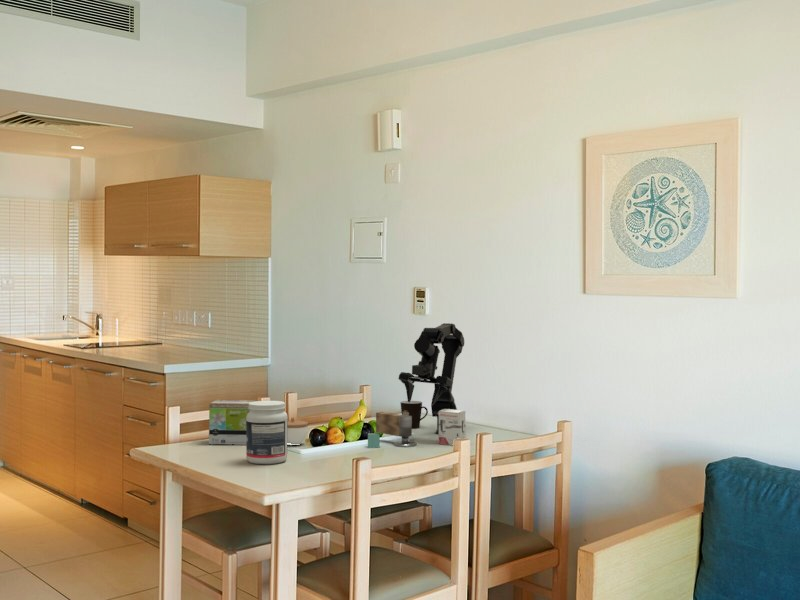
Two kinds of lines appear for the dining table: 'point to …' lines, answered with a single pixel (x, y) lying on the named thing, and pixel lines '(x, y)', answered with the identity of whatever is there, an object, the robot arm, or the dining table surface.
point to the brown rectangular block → (394, 424)
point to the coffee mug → (413, 411)
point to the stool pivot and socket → (375, 443)
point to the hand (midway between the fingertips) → (420, 403)
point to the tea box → (228, 421)
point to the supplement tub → (266, 432)
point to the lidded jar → (296, 431)
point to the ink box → (451, 425)
